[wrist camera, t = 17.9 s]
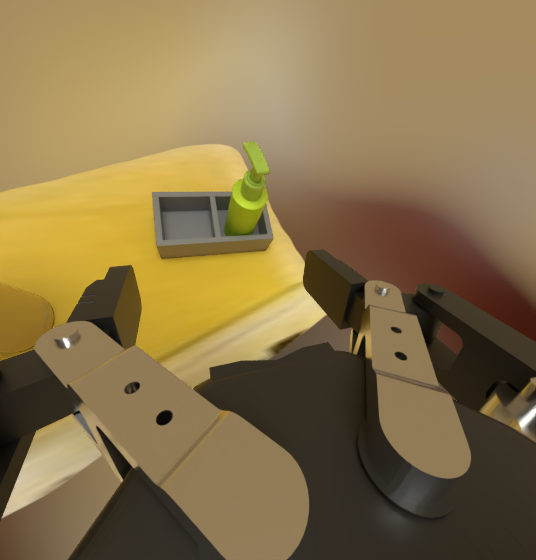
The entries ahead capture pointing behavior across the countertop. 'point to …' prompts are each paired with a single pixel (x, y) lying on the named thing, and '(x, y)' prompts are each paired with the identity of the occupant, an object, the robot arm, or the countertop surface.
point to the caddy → (202, 225)
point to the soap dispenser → (248, 195)
